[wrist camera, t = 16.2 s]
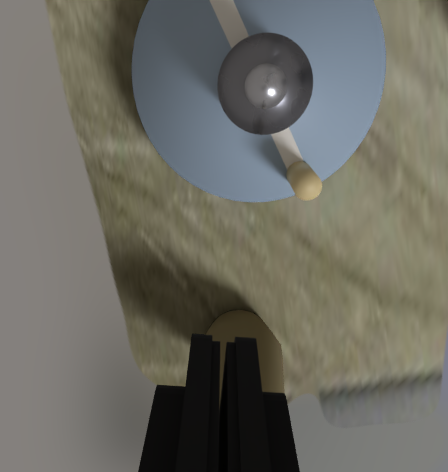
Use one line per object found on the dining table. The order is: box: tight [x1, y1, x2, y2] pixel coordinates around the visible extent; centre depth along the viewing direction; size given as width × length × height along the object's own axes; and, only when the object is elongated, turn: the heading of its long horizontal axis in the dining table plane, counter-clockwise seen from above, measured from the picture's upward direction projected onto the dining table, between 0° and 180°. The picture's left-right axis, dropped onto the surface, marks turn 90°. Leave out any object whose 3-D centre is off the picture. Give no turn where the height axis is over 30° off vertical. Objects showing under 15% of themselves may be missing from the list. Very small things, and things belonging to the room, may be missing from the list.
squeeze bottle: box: [205, 310, 284, 409], centre depth 32 cm, size 8×8×18 cm
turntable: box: [132, 0, 386, 202], centre depth 27 cm, size 18×18×5 cm
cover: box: [217, 33, 313, 135], centre depth 25 cm, size 6×6×6 cm
